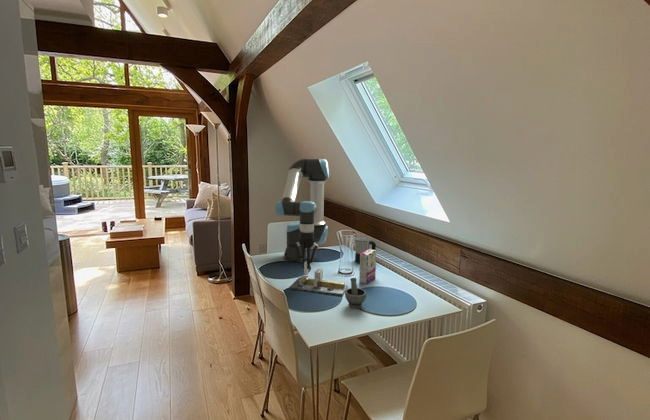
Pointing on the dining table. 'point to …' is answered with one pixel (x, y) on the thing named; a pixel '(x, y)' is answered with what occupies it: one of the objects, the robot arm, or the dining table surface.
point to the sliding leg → (318, 276)
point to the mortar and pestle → (355, 295)
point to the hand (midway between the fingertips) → (306, 274)
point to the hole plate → (319, 288)
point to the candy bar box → (367, 266)
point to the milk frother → (363, 247)
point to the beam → (326, 283)
